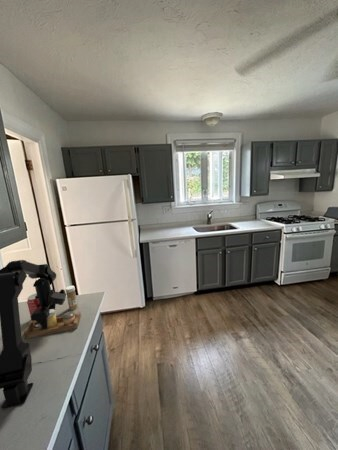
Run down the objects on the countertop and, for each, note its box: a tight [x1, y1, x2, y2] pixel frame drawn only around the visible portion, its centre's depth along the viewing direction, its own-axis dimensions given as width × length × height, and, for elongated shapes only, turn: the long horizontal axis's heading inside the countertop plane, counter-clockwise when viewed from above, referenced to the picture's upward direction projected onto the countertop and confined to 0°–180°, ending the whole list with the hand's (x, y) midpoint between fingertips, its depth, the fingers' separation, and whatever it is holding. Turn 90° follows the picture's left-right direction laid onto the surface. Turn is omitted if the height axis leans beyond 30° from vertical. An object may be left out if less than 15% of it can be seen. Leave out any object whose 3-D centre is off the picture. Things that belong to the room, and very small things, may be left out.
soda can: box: [26, 293, 42, 317], centre depth 102 cm, size 7×7×13 cm
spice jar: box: [62, 310, 76, 326], centre depth 96 cm, size 5×5×5 cm
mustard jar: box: [46, 309, 58, 329], centre depth 94 cm, size 5×5×8 cm
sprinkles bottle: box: [64, 285, 79, 311], centre depth 108 cm, size 5×5×13 cm
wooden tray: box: [22, 310, 82, 339], centre depth 95 cm, size 9×22×4 cm, turn 102°
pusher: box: [34, 324, 45, 330], centre depth 93 cm, size 6×4×4 cm
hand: (49, 320), depth 94 cm, fingers open, 9 cm apart
